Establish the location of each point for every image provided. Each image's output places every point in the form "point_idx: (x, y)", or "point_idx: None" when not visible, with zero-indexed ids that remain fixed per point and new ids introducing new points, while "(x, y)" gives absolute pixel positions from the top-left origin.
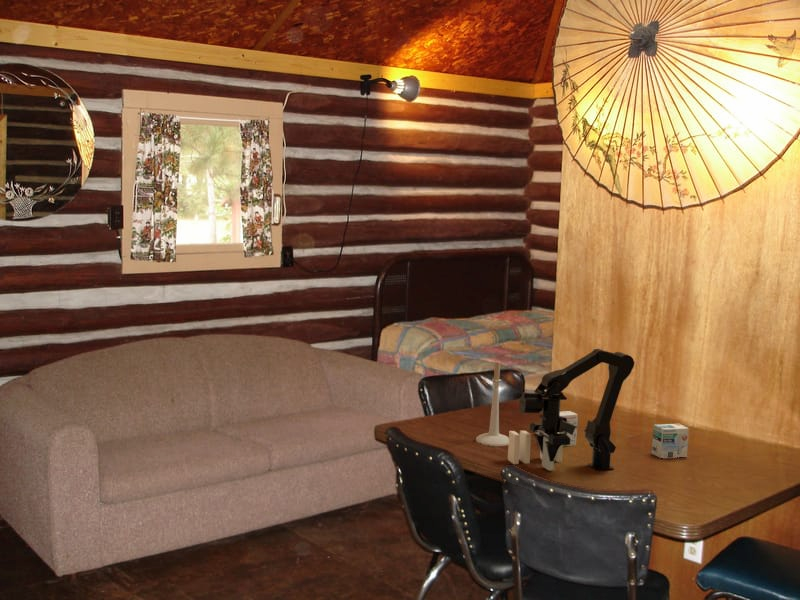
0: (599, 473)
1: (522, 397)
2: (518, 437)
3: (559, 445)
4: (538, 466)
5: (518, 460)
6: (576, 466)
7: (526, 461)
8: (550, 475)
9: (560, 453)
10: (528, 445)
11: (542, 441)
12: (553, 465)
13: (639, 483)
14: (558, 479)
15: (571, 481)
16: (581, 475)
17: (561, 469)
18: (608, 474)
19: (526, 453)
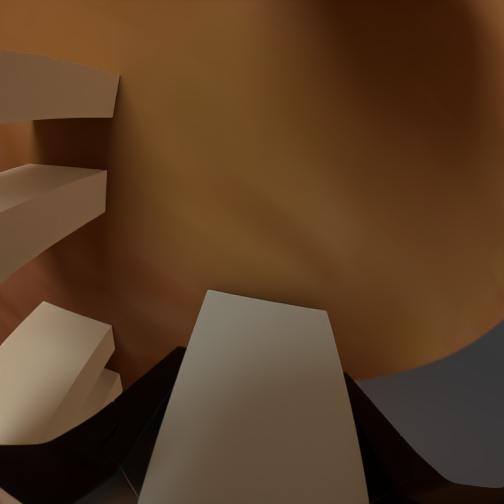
0: (472, 29)
1: None
2: None
3: (453, 496)
4: (179, 319)
5: (112, 387)
6: (281, 28)
7: (108, 348)
8: (368, 353)
9: (75, 84)
10: (60, 421)
11: (136, 497)
12: (332, 335)
13: None
14: (434, 347)
15: (487, 304)
16: (471, 170)
17: (306, 208)
18: (491, 10)
19: (88, 386)
